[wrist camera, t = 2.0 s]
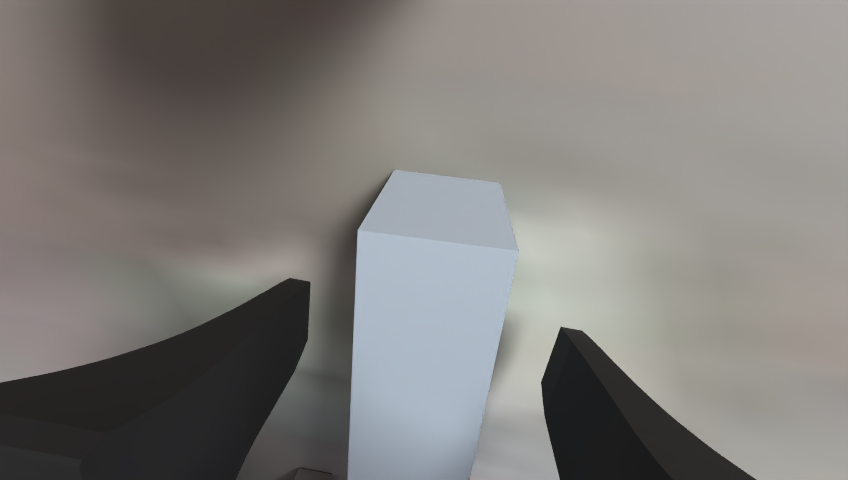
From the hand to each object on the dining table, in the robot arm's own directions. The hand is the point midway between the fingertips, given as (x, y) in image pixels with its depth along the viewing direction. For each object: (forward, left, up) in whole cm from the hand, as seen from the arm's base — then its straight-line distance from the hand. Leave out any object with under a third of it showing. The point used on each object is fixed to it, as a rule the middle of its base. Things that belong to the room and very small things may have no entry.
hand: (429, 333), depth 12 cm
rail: (0, +2, -3) cm, 3 cm away
